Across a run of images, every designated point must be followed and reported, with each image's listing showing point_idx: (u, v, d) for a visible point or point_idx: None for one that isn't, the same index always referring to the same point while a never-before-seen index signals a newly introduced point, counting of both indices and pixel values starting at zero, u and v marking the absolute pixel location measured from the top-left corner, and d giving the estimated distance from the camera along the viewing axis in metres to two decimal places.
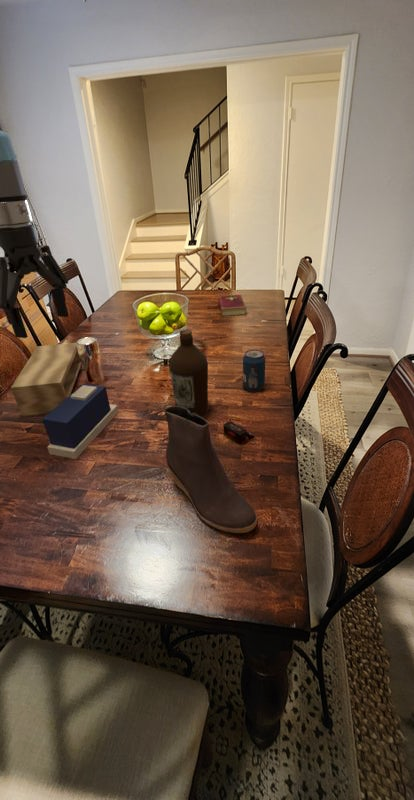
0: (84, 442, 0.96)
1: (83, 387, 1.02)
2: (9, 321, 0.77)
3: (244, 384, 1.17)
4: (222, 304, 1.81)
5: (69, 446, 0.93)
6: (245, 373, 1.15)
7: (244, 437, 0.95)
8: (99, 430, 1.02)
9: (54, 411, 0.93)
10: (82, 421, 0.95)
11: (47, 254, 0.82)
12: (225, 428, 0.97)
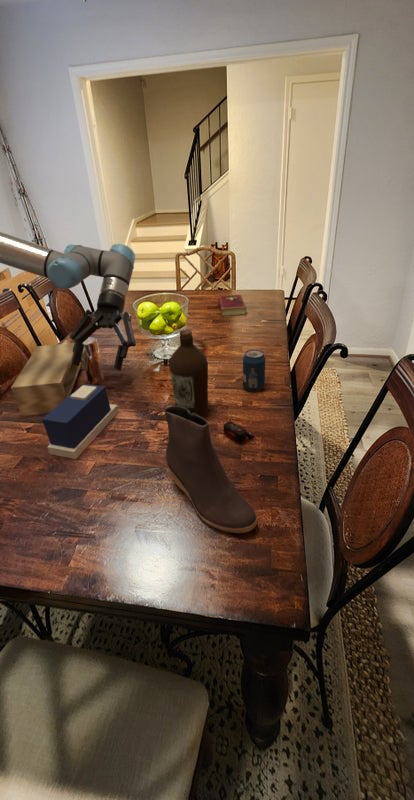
0: (84, 442, 0.96)
1: (83, 387, 1.02)
2: None
3: (244, 384, 1.17)
4: (222, 304, 1.81)
5: (69, 446, 0.93)
6: (245, 373, 1.15)
7: (244, 437, 0.95)
8: (99, 430, 1.02)
9: (54, 411, 0.93)
10: (82, 421, 0.95)
11: (123, 317, 1.04)
12: (225, 428, 0.97)
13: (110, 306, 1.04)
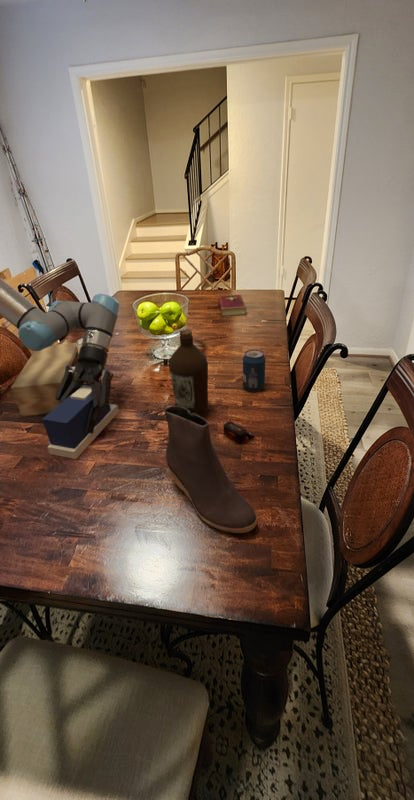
0: (84, 442, 0.96)
1: (83, 387, 1.02)
2: None
3: (244, 384, 1.17)
4: (222, 304, 1.81)
5: (69, 446, 0.93)
6: (245, 373, 1.15)
7: (244, 437, 0.95)
8: (99, 430, 1.02)
9: (54, 411, 0.93)
10: (82, 421, 0.95)
11: (103, 375, 0.98)
12: (225, 428, 0.97)
13: (91, 360, 0.99)
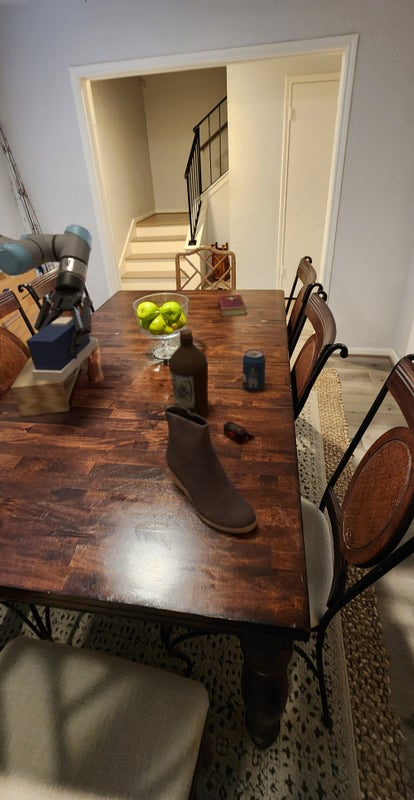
0: (69, 366, 0.97)
1: (62, 316, 1.02)
2: None
3: (244, 384, 1.17)
4: (222, 304, 1.81)
5: (55, 368, 0.94)
6: (245, 373, 1.15)
7: (244, 437, 0.95)
8: (82, 358, 1.04)
9: (36, 335, 0.94)
10: (66, 344, 0.96)
11: (83, 301, 1.00)
12: (225, 428, 0.97)
13: (70, 288, 1.00)
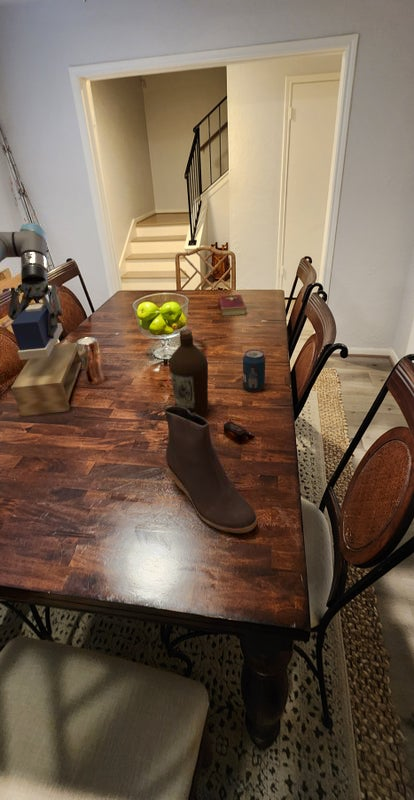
0: (49, 344, 1.11)
1: (32, 304, 1.15)
2: None
3: (244, 384, 1.17)
4: (222, 304, 1.81)
5: (39, 346, 1.07)
6: (245, 373, 1.15)
7: (244, 437, 0.95)
8: (55, 339, 1.18)
9: (17, 319, 1.06)
10: (44, 325, 1.10)
11: (51, 288, 1.14)
12: (225, 428, 0.97)
13: (36, 278, 1.14)
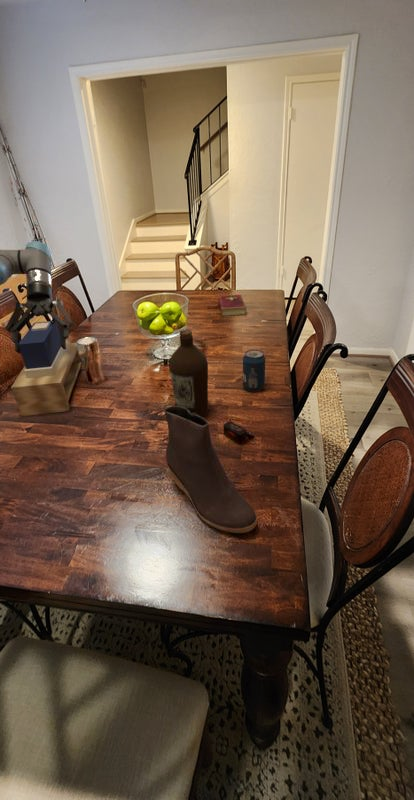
0: (55, 363, 1.14)
1: (38, 323, 1.19)
2: None
3: (244, 384, 1.17)
4: (222, 304, 1.81)
5: (45, 365, 1.11)
6: (245, 373, 1.15)
7: (244, 437, 0.95)
8: (60, 357, 1.21)
9: (24, 339, 1.09)
10: (50, 344, 1.13)
11: (57, 303, 1.17)
12: (225, 428, 0.97)
13: (41, 295, 1.17)
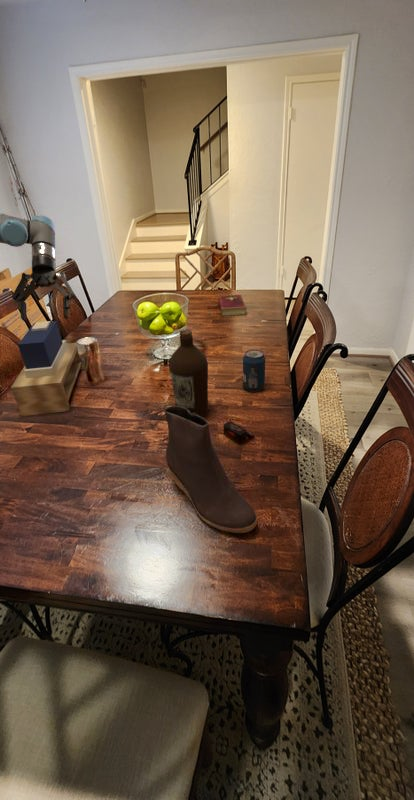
0: (55, 363, 1.14)
1: (38, 323, 1.19)
2: None
3: (244, 384, 1.17)
4: (222, 304, 1.81)
5: (45, 365, 1.11)
6: (245, 373, 1.15)
7: (244, 437, 0.95)
8: (60, 357, 1.21)
9: (24, 339, 1.09)
10: (50, 344, 1.13)
11: (60, 275, 1.26)
12: (225, 428, 0.97)
13: (46, 267, 1.25)
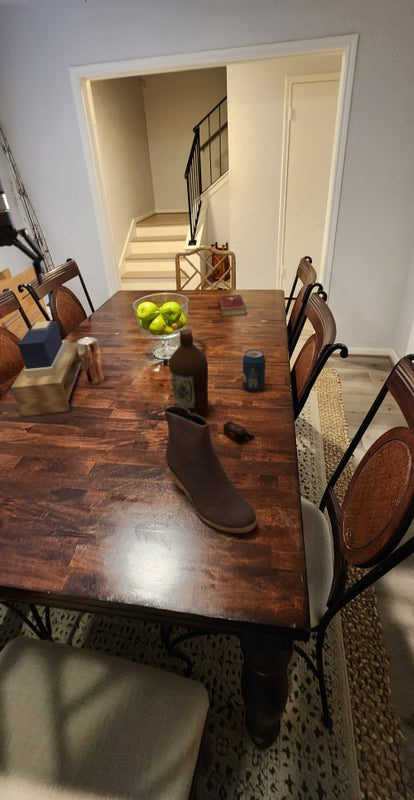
0: (55, 363, 1.14)
1: (38, 323, 1.19)
2: None
3: (244, 384, 1.17)
4: (222, 304, 1.81)
5: (45, 365, 1.11)
6: (245, 373, 1.15)
7: (244, 437, 0.95)
8: (60, 357, 1.21)
9: (24, 339, 1.09)
10: (50, 344, 1.13)
11: (22, 235, 1.10)
12: (225, 428, 0.97)
13: (3, 227, 1.08)
